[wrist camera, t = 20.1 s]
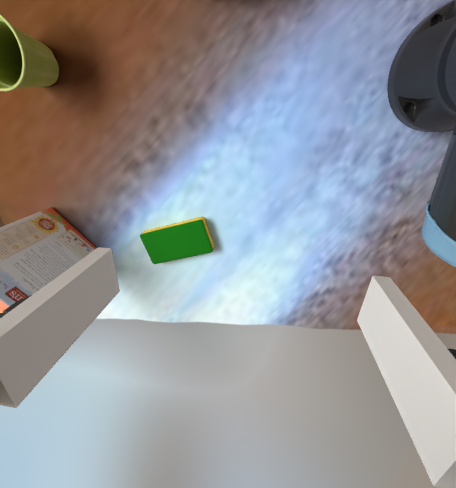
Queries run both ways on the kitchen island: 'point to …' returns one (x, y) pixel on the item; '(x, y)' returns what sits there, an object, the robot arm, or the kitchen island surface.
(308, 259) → the kitchen island surface
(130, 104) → the kitchen island surface
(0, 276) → the cracker box
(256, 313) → the kitchen island surface
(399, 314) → the robot arm
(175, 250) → the dish sponge
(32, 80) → the plant pot
